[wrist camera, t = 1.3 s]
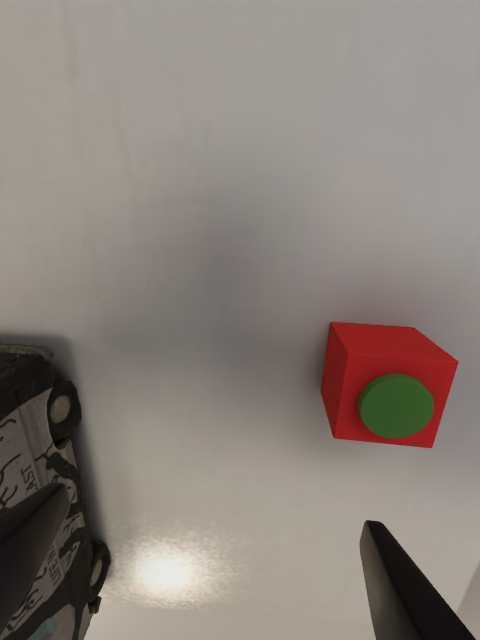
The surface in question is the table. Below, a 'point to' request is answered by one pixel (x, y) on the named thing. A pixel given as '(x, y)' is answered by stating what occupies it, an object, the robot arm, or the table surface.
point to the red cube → (385, 384)
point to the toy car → (32, 474)
